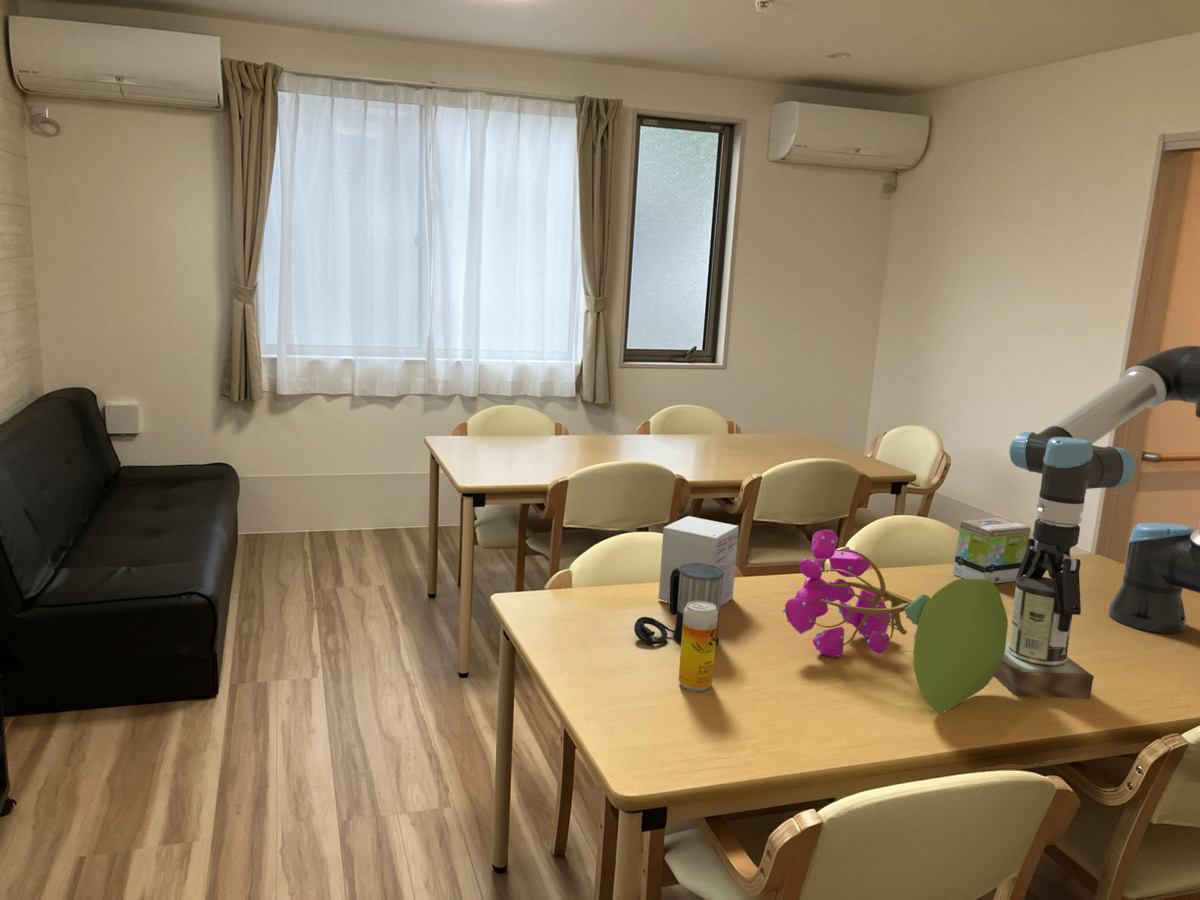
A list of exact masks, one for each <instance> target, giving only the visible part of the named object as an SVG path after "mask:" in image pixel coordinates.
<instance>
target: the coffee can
mask: <svg viewBox="0 0 1200 900" xmlns="http://www.w3.org/2000/svg"><path fill="white" fill-rule="evenodd" d="M1014 592H1015V593H1014V599H1013V600H1014V601H1013V607H1012V608H1013V609H1012V618H1011V622H1010V623H1011V625H1010V633H1009V641H1008V643H1009V647H1008V651H1009V653H1011V654H1012V655H1013V656H1015V657H1017V658H1019V659H1022V660H1025V661H1028V662H1032V663H1036V664H1043V665H1061V664H1064V663H1066V662H1067V657H1068V650H1069V643H1070V642H1069V641H1070V634H1071V628H1072V621H1073V615H1072V616H1071V621H1070V626H1069V631H1068V636H1067V642H1066V647H1051V646H1049V643H1050V636H1051V630H1052V623H1053V617H1054V611H1056V610H1058V609H1057V603H1056V598H1055V592H1054V586H1053V581H1052V578H1051V577H1046V576H1042V578H1041V579H1036V578H1029V577H1027V576H1025V575H1023V577H1018V578H1017V579H1016V581H1015V591H1014ZM1063 607H1064V606H1063Z"/></svg>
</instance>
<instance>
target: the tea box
mask: <svg viewBox="0 0 1200 900" xmlns="http://www.w3.org/2000/svg"><path fill="white" fill-rule="evenodd" d="M1031 529H1032V528H1031V527H1030V526H1027V525H1025V524H1021V523H1018V522H1015V521H1012V520H1009V519H1005V518H1001V517H993V518H982V519H968V520H961V522H960V527H959V533H958V539H957V544H956V545H957V546H956V551H955V558H954V563H953V564H954V565H953V571H952V574H953V575H954V576H957V577H958V578H959V577H960V579H963V578H964V579H987V580H990V581H991V582H993V583H994V584H1001V583H1002V584H1003V583H1010V582H1016V576H1017V573H1018V571H1019V568H1020V566H1021V563H1022V560H1023V558H1024V555H1025V552H1026V550H1027V544H1028V539H1030V536H1031Z"/></svg>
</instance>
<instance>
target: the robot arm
mask: <svg viewBox="0 0 1200 900" xmlns="http://www.w3.org/2000/svg"><path fill="white" fill-rule="evenodd" d="M1172 401H1177V402H1179V401H1180V402H1185V403H1191V404H1195V418H1196V419H1198V420H1199V421H1200V346H1198V345H1184V346H1176V347H1172V348H1170V349H1166V350H1162V351H1160V352H1157V353H1155V354H1153V355H1150V356H1148V357H1145V358H1144V359H1141V360H1140V361H1138V362H1136V363H1135V364H1133V365H1132V366H1130V367H1129V368H1128V369H1126V370H1125V371H1124V372H1123V373H1122V376H1121V379H1119V380H1118V381H1117V382H1115V383H1113V384H1112V385H1110V386H1109V387H1108V388H1106V389H1104V390H1103V391H1101V392H1099V393H1098V394H1097V395H1095V396H1094V397H1092V398H1091V399H1089V400H1087V401H1086V402H1085V403H1083V404H1081V405H1080V406H1079V407H1076V409H1074V410H1072V411H1071V412H1069V413H1068V414H1065V416H1064V417H1062V418H1060V419H1059V420H1057V421H1056V422H1054V423H1053V424H1051V425H1049V426H1048V427H1047V428H1045V429H1043V430H1042V431H1041V432H1038V433H1036V432H1034V431H1030V432H1029V431H1028V432H1027V431H1023V432H1020V433H1018V434H1016V435H1015V437H1014V438H1013V439H1012V441H1011V443H1010V446H1009V452H1008V454H1009V458H1010V462H1011V463H1012V464H1013V465H1014V466H1015V467H1017V468H1020V469H1024V470H1026V471H1028V472H1031V473H1037V474H1041V481H1040V482H1041V483H1040V491H1039V494H1038V495H1039V496H1038V500H1037V501H1038V502H1037V503H1036V507H1037V508H1036V517H1037V519H1036V520H1035V521H1034V525H1033V533H1032V538H1029V539H1028V544H1027V550H1026V552H1025V555H1024V558H1023V560H1022V563H1021V566H1020V568H1019V571H1018V573H1017V576H1016V579H1017V578H1018V577H1023V576H1027V577H1029V578H1036V579H1041V578H1042V577H1044V575H1045V574H1046V572H1048V573H1047V574H1048V576H1049V578H1052V581H1053V586H1054V592H1055V598H1056V603H1057V609H1058V610H1056V611H1054V617H1053V623H1052V630H1051V636H1050V643H1049V646H1051V647H1066V642H1067V636H1068V631H1069V626H1070V621H1071V616H1072V617H1073V615H1076V616H1078V615H1079V616H1080V615H1081V613H1082V609H1081V587H1080V585H1081V583H1080V571H1081V570H1080V569H1081V564H1082V563H1081V559H1079V558H1072V557H1071V549H1072V548H1074V547H1076V546H1077V545H1078V543H1079V538H1080V532H1081V527H1080V524H1081V523H1082V521H1083V513H1084V506H1085V498H1086V494H1087V490H1089V489H1104V488H1107V489H1112V488H1115V487H1120V486H1124V485H1126V484H1129V482H1130V481H1132V478H1134V475H1135V473H1136V461H1135V458H1134V457H1133V455H1132V454H1131V453H1130V452H1129V450H1127V449H1125V448H1123V447H1118V446H1117V447H1115V446H1109V445H1108V446H1105V447H1103V446H1098V445H1093V444H1094V443H1096V442H1098V441H1099V440H1100V439H1102V438H1104V437H1105V436H1106V435H1108V434H1109V433H1111V432H1112V431H1114V430H1115V429H1117V428H1118V427H1120V426H1121V425H1123V424H1124V423H1126V422H1127V421H1128V420H1130V419H1132V418H1133V417H1135V416H1136V415H1137V414H1139V413H1141V412H1142V411H1143V410H1145V409H1147V408H1154V407H1157V406H1159V405H1161V404H1163V403H1165V402H1172ZM1198 523H1199V524H1198V525H1199V527H1198V529H1196V530H1195V531H1194V529H1193V528H1192V527H1190V526H1189V525H1185V524H1178V523H1177V524H1176V523H1170V522H1143V523H1142V522H1141V523H1138V524H1136V525H1134V526H1133V528H1132V530H1131V534H1130V536H1129V537H1130V538H1129V540H1128V548H1127V553H1126V554H1127V555H1126V560H1125V565H1124V566H1125V567H1124V572H1123V573H1124V574H1123V578H1122V579H1123V580H1122V583H1121V586H1120V587H1119V588H1118V591H1117V592H1116V594H1115V595H1114V598H1113V600H1112V601H1111V602H1110V605H1109V609H1108V615H1109V617H1111V618H1112V619H1113V620H1115V621H1117V622H1118V623H1121V624H1123V625H1125V626H1127V627H1130V628H1131V627H1132V628H1135V629H1138V630H1142V631H1147V632H1151V631H1154V632H1153V633H1158V632H1163V633H1162V634H1175V633H1174V632H1179V633H1182V632H1184V631H1183V630H1185V629H1186V623H1187V619H1186V615H1185V614H1186V613H1185V608H1184V604H1183V603H1184V602H1183V599H1182V593H1183V589H1185V590H1187V591H1191V592H1194V593H1195V594H1196V593H1198V594H1199V595H1200V519H1199V520H1198ZM1063 606H1064V607H1063ZM1071 622H1072V621H1071ZM1181 631H1182V632H1181Z"/></svg>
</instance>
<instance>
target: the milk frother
mask: <svg viewBox="0 0 1200 900" xmlns="http://www.w3.org/2000/svg"><path fill="white" fill-rule="evenodd" d="M724 575H725V572H724V571H723V570H722V569H720V568H718V567H716V566H712V565H708V564H702V563H690V564H684V565H682V566H680V567H678V568H676V569H674V570H673V571H672V573H671V577H670V604H669V608H668V609H669V613H670V615H672V616H675V615H676V617H675V626H674V630H673V629H670V628H669V627H668V626H666V625H665V624H664V623H662V622H661V621H659V620H658V619H655V618H653V617H647V616H641V617H639V618H638V619H637V620H636V621H635V623H634V627H633V630H634V634H635V636H636V637H637V638H638V639H639V640H641V641H642V642H644V643H645V644H650V645H660V644H664V643H665V642H666V641H667V639H668V631H669V632H671V633H673V635H672V636H673V640H674V641H676V642H677V643H678V644H680V645H681V640H682V627H683V614H684V609H685V607H686V605H687V603H688V602H691V601H706V602H710V603H712V604H714V605H715V606H716V609H717V611H718V622H717V634H716V645H717V644H718V643H719V621H720V620H719V619H720V611H721V607H720V603H721V594H722V583H723V576H724ZM646 625H651V626H654V627H655V628H657V630H659V632H660V635H661V636H659V637H658V638H655V637H654V636H655V631H652V630H651V629H650V628H649V627H648V626H646Z"/></svg>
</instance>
